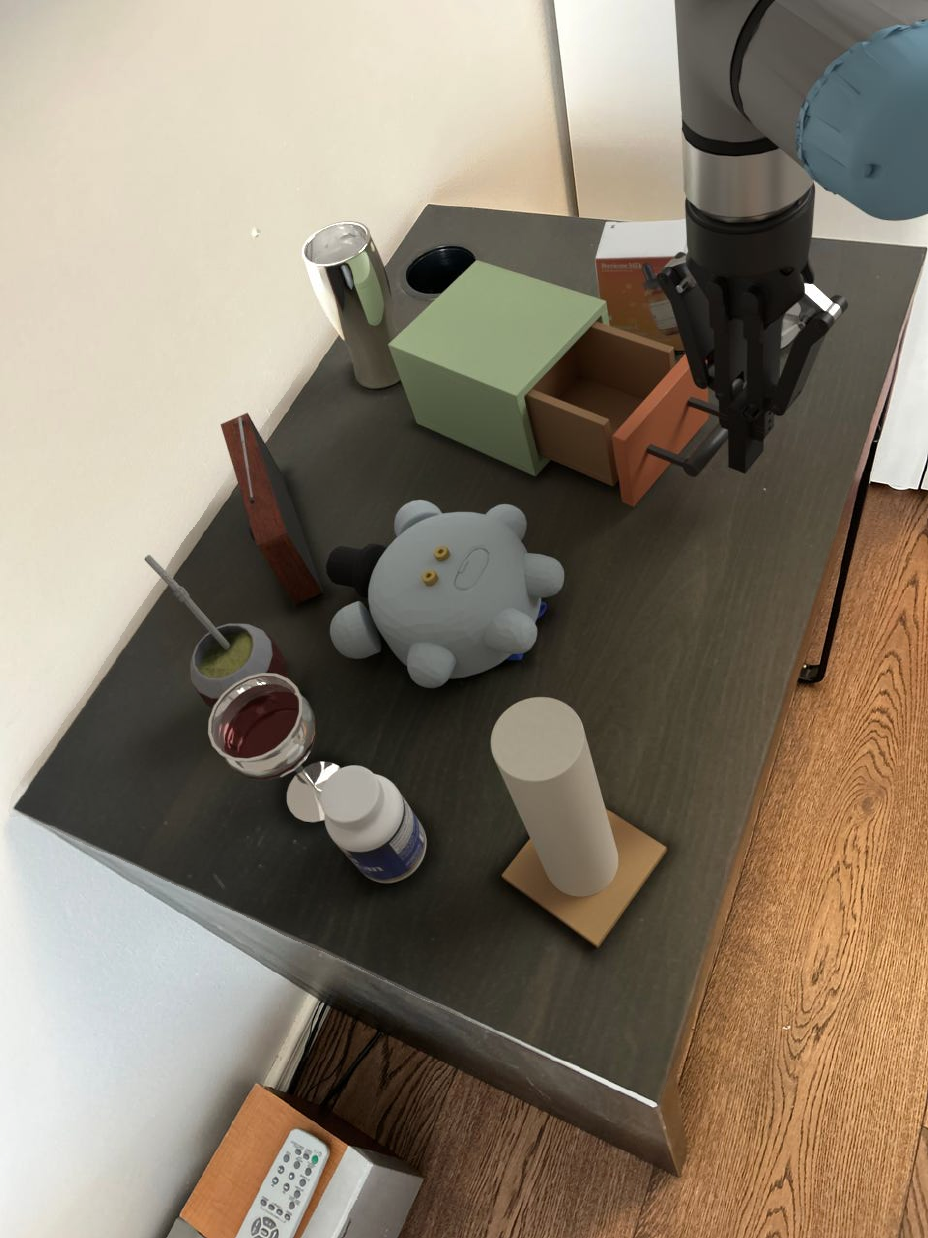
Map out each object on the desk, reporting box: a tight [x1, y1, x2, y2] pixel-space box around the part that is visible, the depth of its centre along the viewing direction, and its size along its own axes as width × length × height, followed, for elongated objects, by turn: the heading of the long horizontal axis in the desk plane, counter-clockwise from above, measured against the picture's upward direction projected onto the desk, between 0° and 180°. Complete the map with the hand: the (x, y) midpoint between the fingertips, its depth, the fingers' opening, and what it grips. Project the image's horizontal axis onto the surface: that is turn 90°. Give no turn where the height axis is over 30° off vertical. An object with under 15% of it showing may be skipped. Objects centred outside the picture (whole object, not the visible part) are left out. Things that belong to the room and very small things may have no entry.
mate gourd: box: [143, 554, 289, 710], centre depth 74 cm, size 8×8×15 cm
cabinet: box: [388, 259, 609, 477], centre depth 89 cm, size 15×13×10 cm
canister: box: [490, 696, 618, 897], centre depth 58 cm, size 5×5×18 cm
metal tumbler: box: [301, 220, 401, 390], centre depth 94 cm, size 7×7×15 cm
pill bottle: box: [320, 764, 427, 884], centre depth 66 cm, size 5×5×10 cm
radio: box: [220, 412, 324, 606], centre depth 83 cm, size 19×3×15 cm, turn 20°
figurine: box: [325, 499, 565, 689], centre depth 78 cm, size 17×8×20 cm
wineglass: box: [207, 673, 342, 823], centre depth 69 cm, size 7×7×12 cm
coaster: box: [501, 807, 668, 948], centre depth 66 cm, size 8×8×1 cm
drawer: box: [524, 321, 728, 507], centre depth 82 cm, size 18×12×8 cm, turn 50°
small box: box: [594, 218, 688, 352], centre depth 90 cm, size 8×6×10 cm
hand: (745, 458), depth 77 cm, fingers closed
